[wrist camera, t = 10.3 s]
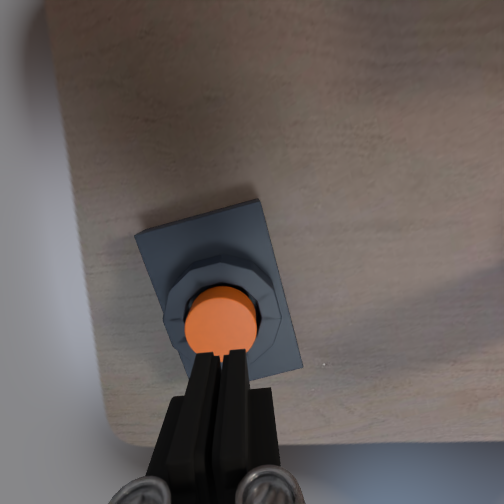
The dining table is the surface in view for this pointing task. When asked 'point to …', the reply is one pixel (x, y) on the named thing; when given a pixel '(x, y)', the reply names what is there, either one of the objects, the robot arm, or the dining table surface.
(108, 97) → the dining table surface
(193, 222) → the control block
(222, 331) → the button
